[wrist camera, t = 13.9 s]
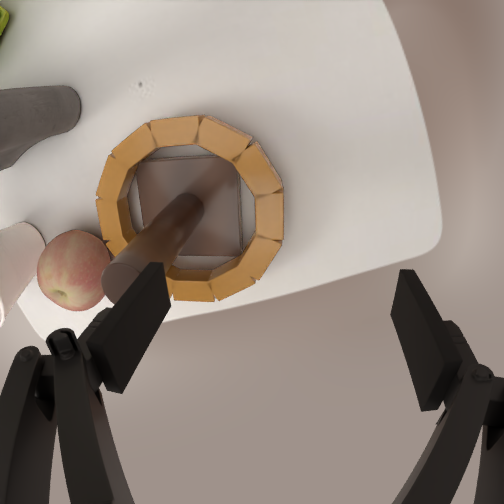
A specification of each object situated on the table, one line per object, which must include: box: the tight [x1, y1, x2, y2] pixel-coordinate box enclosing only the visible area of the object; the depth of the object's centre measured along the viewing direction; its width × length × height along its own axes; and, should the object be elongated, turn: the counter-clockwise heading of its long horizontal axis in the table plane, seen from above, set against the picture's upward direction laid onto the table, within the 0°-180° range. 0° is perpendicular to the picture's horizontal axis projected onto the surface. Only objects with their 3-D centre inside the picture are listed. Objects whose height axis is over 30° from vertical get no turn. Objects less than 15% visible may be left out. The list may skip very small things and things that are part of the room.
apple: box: [37, 230, 111, 311], centre depth 29 cm, size 8×8×8 cm
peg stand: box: [101, 155, 243, 304], centre depth 23 cm, size 9×9×14 cm
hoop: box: [95, 115, 284, 302], centre depth 27 cm, size 16×16×2 cm
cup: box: [0, 222, 46, 327], centre depth 28 cm, size 10×10×11 cm
